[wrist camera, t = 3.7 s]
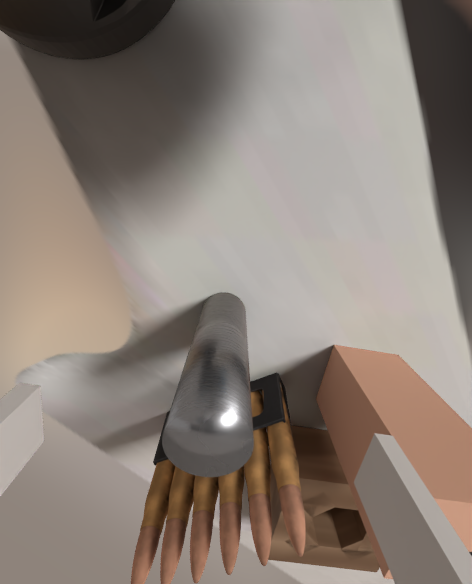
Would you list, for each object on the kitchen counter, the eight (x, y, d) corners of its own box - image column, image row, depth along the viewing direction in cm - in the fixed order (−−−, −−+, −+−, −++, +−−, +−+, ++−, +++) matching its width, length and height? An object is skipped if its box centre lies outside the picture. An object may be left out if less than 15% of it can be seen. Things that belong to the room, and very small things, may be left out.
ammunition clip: (176, 426, 25) (126, 612, 14) (166, 411, 25) (106, 593, 14) (285, 388, 24) (327, 562, 13) (277, 372, 23) (314, 538, 12)
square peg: (333, 344, 22) (431, 498, 11) (398, 354, 23) (558, 514, 11) (315, 398, 24) (383, 578, 13) (375, 407, 24) (494, 590, 13)
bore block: (282, 424, 25) (292, 477, 20) (387, 439, 26) (421, 494, 21) (260, 498, 28) (265, 559, 24) (354, 510, 29) (376, 572, 24)
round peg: (205, 289, 21) (166, 401, 10) (249, 296, 21) (262, 414, 10) (199, 328, 22) (158, 470, 11) (241, 335, 22) (244, 482, 11)
